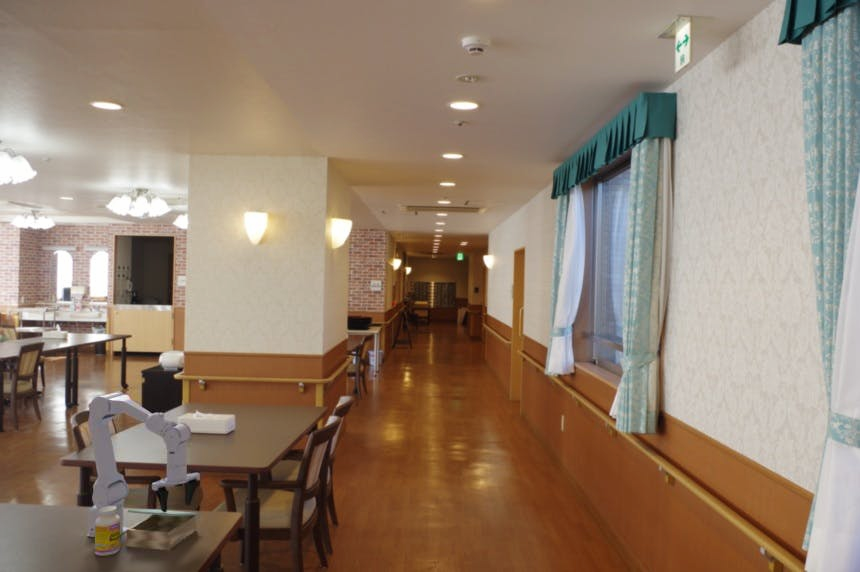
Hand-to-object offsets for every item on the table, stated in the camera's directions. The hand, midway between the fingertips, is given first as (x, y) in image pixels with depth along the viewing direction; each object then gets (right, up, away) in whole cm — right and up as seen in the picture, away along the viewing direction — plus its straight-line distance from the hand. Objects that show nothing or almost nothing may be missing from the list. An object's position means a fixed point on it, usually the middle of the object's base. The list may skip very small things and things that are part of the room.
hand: (176, 507), depth 197 cm
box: (-5, -10, +1) cm, 11 cm away
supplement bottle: (-17, -10, -9) cm, 21 cm away
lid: (-5, -2, +2) cm, 5 cm away
